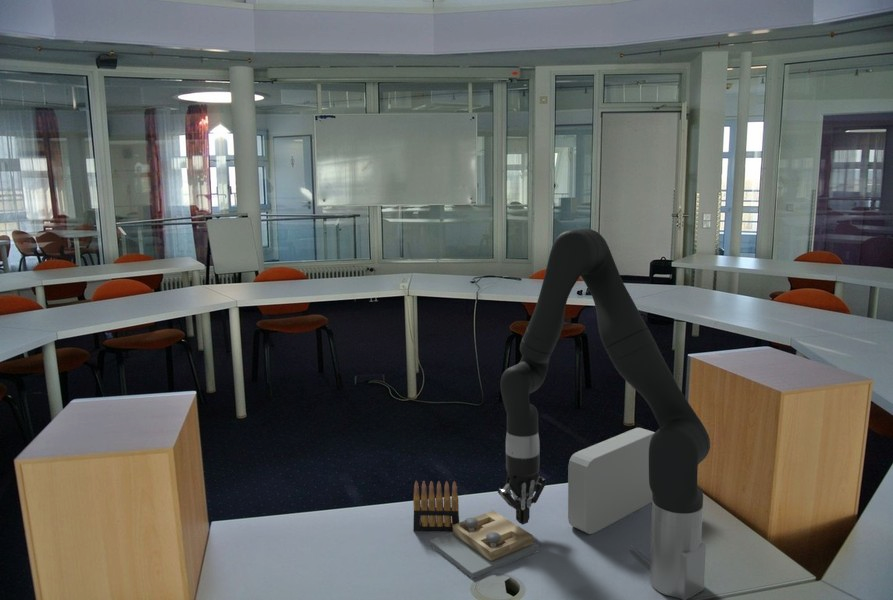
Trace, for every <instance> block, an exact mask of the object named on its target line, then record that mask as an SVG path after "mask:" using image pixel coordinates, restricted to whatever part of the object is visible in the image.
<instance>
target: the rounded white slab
mask: <svg viewBox="0 0 893 600" xmlns="http://www.w3.org/2000/svg"><path fill="white" fill-rule="evenodd" d="M655 432H656V431H655ZM655 432H654V431H652V430H649V429H645V428H642V427H635V428H633V429H630V430H627V431H625V432H623V433H620V434H618V435H614V436H613V437H610V438H607V439H606V440H603V441H601V442H598V443H595V444H593V445H590V446H588V447H586V448H583V449H581V450H578V451H577V452H574V453H572V455H571V456H570V459H569V462H568V467H567V469H568V470H567V471H568V472H567V473H568V475H567V520H568V524H569V525H570V526H571V527H573V528H574V529H577V530H579V531H582V532H583V533H586V534H587V535H593V534H596V533H597V532H599V531H602V530H603V529H604V528H607V527H608V526H611V525H612V524H614V523H616V522H617V521H620V520H621V519H623V518H625V517H627V516H629V515H631V514H633V513H634V512H636V511H638V510H640V509H642V508H643V507H646V506H648V505H649V504H652V491H651V489H650V485H649V444H650V440H651V438H652V436H653V434H654V433H655Z"/></svg>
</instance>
